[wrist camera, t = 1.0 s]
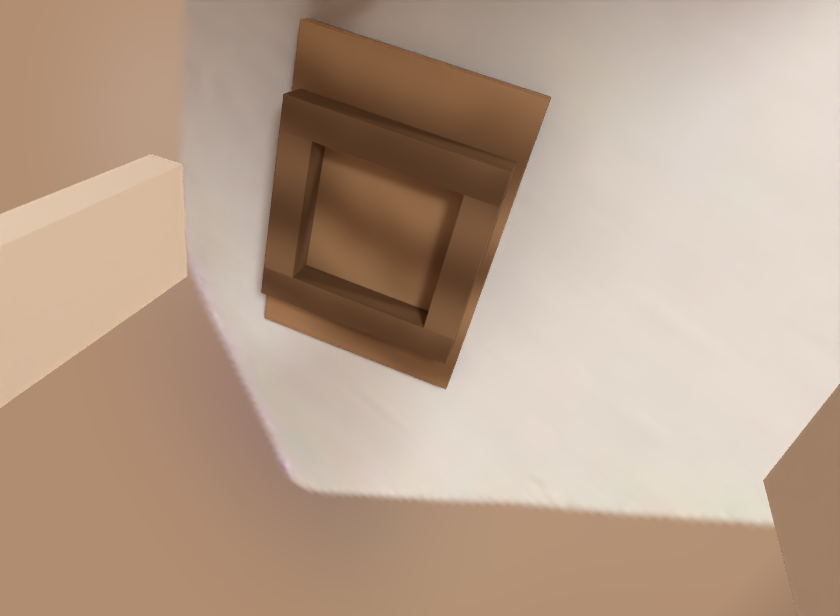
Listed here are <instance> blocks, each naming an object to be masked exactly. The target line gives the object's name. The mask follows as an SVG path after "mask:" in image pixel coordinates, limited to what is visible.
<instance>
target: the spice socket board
mask: <svg viewBox="0 0 840 616" xmlns="http://www.w3.org/2000/svg"><path fill="white" fill-rule="evenodd" d="M550 99H551V97H549V96H546V95H543V94H540V93H537V92H534V91H531V90H527V89H524V88H521V87H518V86H515V85H512V84H509V83H506V82H503V81H500V80H497V79H494V78H491V77H487V76H484V75H481V74H478V73H475V72H472V71H469V70H466V69H463V68H460V67H457V66H454V65H450V64H447V63H444V62H441V61H438V60H435V59H432V58H429V57H426V56H423V55H420V54H417V53H413V52H410V51H407V50H404V49H401V48H398V47H395V46H392V45H389V44H386V43H383V42H380V41H376V40H373V39H370V38H367V37H364V36H361V35H358V34H355V33H352V32H349V31H346V30H343V29H339V28H336V27H333V26H330V25H327V24H324V23H321V22H318V21H315V20H312V19H301V20H300V28H299V36H298V45H297V53H296V61H295V70H294V78H293V86H292V91H291V92H288V93H285V94H284V95H283V104H282V113H281V122H280V130H279V139H278V148H277V157H276V166H275V175H274V184H273V192H272V201H271V210H270V219H269V228H268V237H267V246H266V254H265V263H264V272H263V281H262V290H261V293H264V294H266V295H267V303H266V311H265V318H267V319H269V320H272V321H274V322H277V323H279V324H282V325H285V326H287V327H290V328H292V329H295V330H297V331H300V332H302V333H305V334H307V335H310V336H312V337H315V338H317V339H320V340H322V341H325V342H327V343H330V344H333V345H335V346H338V347H340V348H343V349H345V350H348V351H350V352H353V353H355V354H358V355H360V356H363V357H365V358H368V359H370V360H373V361H376V362H378V363H381V364H383V365H386V366H388V367H391V368H393V369H396V370H398V371H401V372H403V373H406V374H408V375H411V376H413V377H416V378H418V379H421V380H424V381H426V382H429V383H431V384H434V385H436V386H439V387H441V388H444V389H446V388H447V385H448V383H449V380H450V378H451V375H452V372H453V369H454V367H455V364H456V361H457V358H458V355H459V353H460V350H461V347H462V344H463V341H464V339H465V336H466V333H467V330H468V328H469V325H470V322H471V319H472V316H473V314H474V311H475V308H476V305H477V302H478V300H479V297H480V294H481V291H482V289H483V286H484V283H485V280H486V277H487V275H488V272H489V269H490V266H491V263H492V261H493V258H494V255H495V252H496V249H497V247H498V244H499V241H500V238H501V236H502V233H503V230H504V227H505V224H506V222H507V219H508V216H509V213H510V210H511V208H512V205H513V202H514V199H515V197H516V194H517V191H518V188H519V185H520V183H521V180H522V177H523V174H524V171H525V169H526V166H527V163H528V160H529V158H530V155H531V152H532V149H533V146H534V144H535V141H536V138H537V135H538V132H539V130H540V127H541V124H542V121H543V119H544V116H545V113H546V110H547V107H548V105H549V102H550Z"/></svg>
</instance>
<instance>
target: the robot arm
mask: <svg viewBox="0 0 840 616" xmlns="http://www.w3.org/2000/svg"><path fill="white" fill-rule="evenodd" d="M185 277H187V254H186V230H185V206H184V181H183V164H180V163H177V162H174V161H171V160H168V159H165V158H162V157H159V156H156V155H152V154H150V155H147V156H145V157H142V158H140V159H137V160H135V161H132V162H129V163H127V164H124V165H122V166H119V167H117V168H115V169H112V170H109V171H107V172H104V173H102V174H99V175H97V176H94V177H92V178H90V179H87V180H84V181H82V182H79V183H77V184H74V185H72V186H69V187H67V188H65V189H62V190H59V191H57V192H54V193H52V194H49V195H47V196H44V197H42V198H39V199H36V200H34V201H31V202H29V203H26V204H24V205H21V206H19V207H16V208H14V209H11V210H9V211H6V212H4V213H2V214H0V408H1V407H3V406H4V405H5V404H7V403H8V402H10V401H11V400H12V399H14V398H15V397H17V396H18V395H20V394H21V393H22V392H24V391H25V390H27V389H28V388H30V387H31V386H32V385H34V384H35V383H37V382H38V381H39V380H41V379H42V378H44V377H45V376H46V375H48V374H49V373H51V372H52V371H53V370H55V369H56V368H58V367H59V366H60V365H62V364H64V363H65V362H66V361H68V360H69V359H71V358H72V357H74V356H75V355H76V354H78V353H79V352H80V351H82V350H83V349H85V348H86V347H88V346H89V345H90V344H92V343H93V342H95V341H96V340H97V339H99V338H100V337H102V336H103V335H105V334H106V333H107V332H109V331H110V330H112V329H113V328H114V327H116V326H117V325H119V324H120V323H122V322H123V321H125V320H126V319H127V318H129V317H130V316H132V315H133V314H134V313H136V312H137V311H139V310H140V309H142V308H143V307H144V306H146V305H147V304H149V303H150V302H152V301H153V300H154V299H156V298H157V297H159V296H160V295H161V294H163V293H164V292H166V291H167V290H168V289H170V288H171V287H173V286H174V285H176V284H177V283H178V282H180V281H181V280H183V279H184V278H185ZM763 481H764V485H765V489H766V493H767V497H768V501H769V505H770V509H771V513H772V517H773V521H774V525H775V529H776V532H777V536H778V540H779V544H780V548H781V552H782V556H783V560H784V564H785V568H786V572H787V576H788V580H789V584H790V588H791V592H792V596H793V600H794V604H795V608H796V612H797V616H840V384H839V385H838V387H837V388H836V389H835V390H834V392H833V393H832V394H831V396H830V397H829V398H828V399H827V401H826V402H825V403H824V404H823V406H822V407H821V408H820V409H819V411H818V412H817V413H816V415H815V416H814V417H813V418H812V420H811V421H810V422H809V423H808V425H807V426H806V427H805V428H804V430H803V431H802V432H801V433H800V435H799V436H798V437H797V439H796V440H795V441H794V442H793V444H792V445H791V446H790V447H789V449H788V450H787V451H786V452H785V454H784V455H783V456H782V458H781V459H780V460H779V461H778V463H777V464H776V465H775V466H774V468H773V469H772V470H771V471H770V473H769V474H768V475H767V477H766V478H765V479H764V480H763Z"/></svg>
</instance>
